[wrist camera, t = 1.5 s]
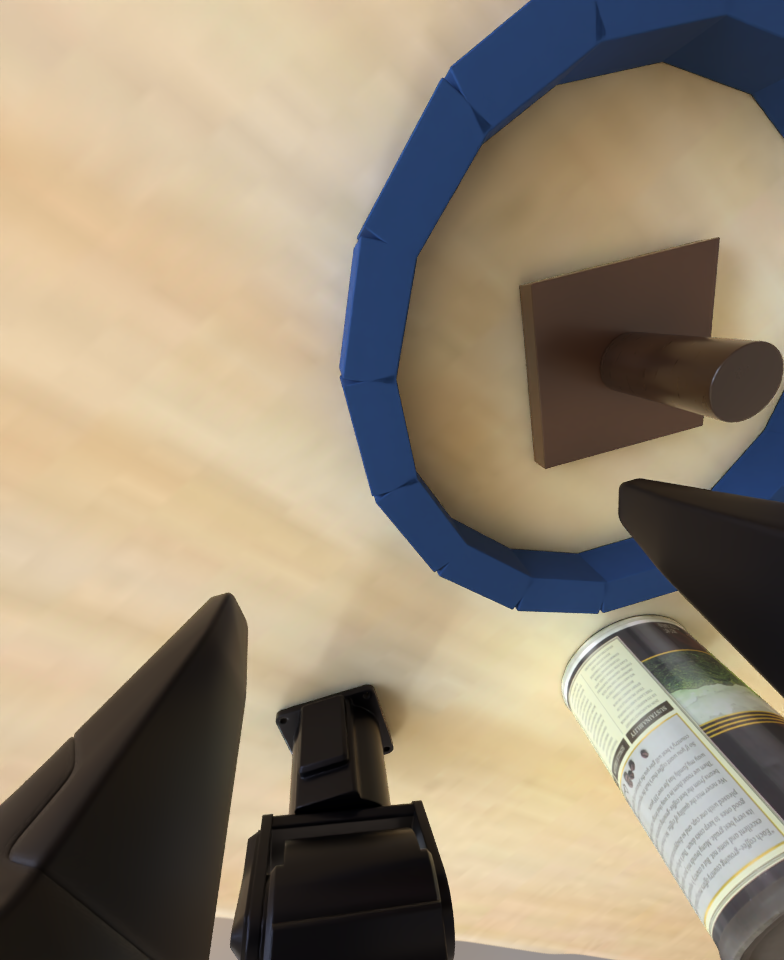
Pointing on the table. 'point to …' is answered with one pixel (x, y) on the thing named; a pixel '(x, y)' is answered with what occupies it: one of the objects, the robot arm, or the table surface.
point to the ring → (420, 203)
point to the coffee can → (692, 771)
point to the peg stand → (635, 355)
